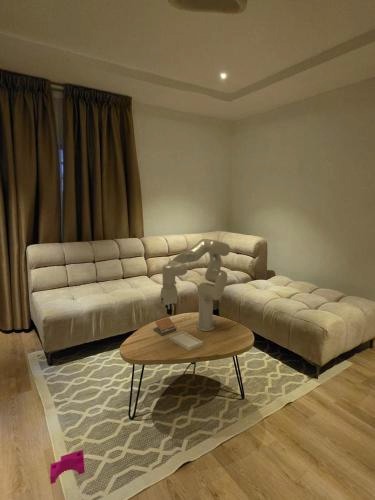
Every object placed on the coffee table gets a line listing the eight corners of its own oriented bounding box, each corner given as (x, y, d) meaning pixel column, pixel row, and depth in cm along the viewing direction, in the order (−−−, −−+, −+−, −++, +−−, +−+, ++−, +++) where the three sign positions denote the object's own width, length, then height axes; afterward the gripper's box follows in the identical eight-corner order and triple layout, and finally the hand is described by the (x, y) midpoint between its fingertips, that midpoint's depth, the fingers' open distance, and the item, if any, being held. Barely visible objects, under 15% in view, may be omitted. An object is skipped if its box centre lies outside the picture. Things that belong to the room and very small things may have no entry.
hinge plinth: (168, 326, 207) (168, 322, 206) (176, 331, 199) (176, 326, 199) (153, 331, 199) (153, 326, 199) (161, 336, 192) (161, 331, 191)
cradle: (182, 334, 195) (182, 330, 195) (202, 345, 181) (202, 341, 180) (168, 338, 188) (168, 335, 188) (188, 350, 174) (188, 347, 173)
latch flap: (168, 318, 204) (169, 317, 204) (174, 327, 200) (175, 326, 199) (155, 322, 197) (155, 321, 197) (161, 331, 193) (161, 330, 192)
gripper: (175, 281, 184) (175, 309, 187) (154, 286, 175) (155, 315, 178) (182, 284, 178) (183, 313, 182) (162, 289, 169) (162, 319, 172)
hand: (169, 314), depth 180 cm, fingers closed
